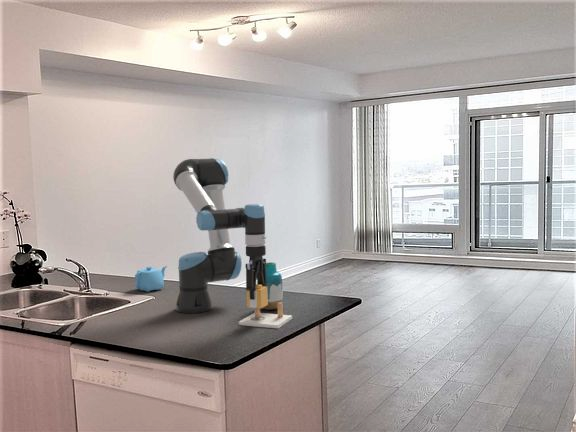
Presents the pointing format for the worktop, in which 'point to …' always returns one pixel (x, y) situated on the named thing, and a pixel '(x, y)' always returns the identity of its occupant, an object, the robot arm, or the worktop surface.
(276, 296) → the vase
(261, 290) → the yellow toy brick
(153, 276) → the teapot
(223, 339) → the worktop surface
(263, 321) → the plate
